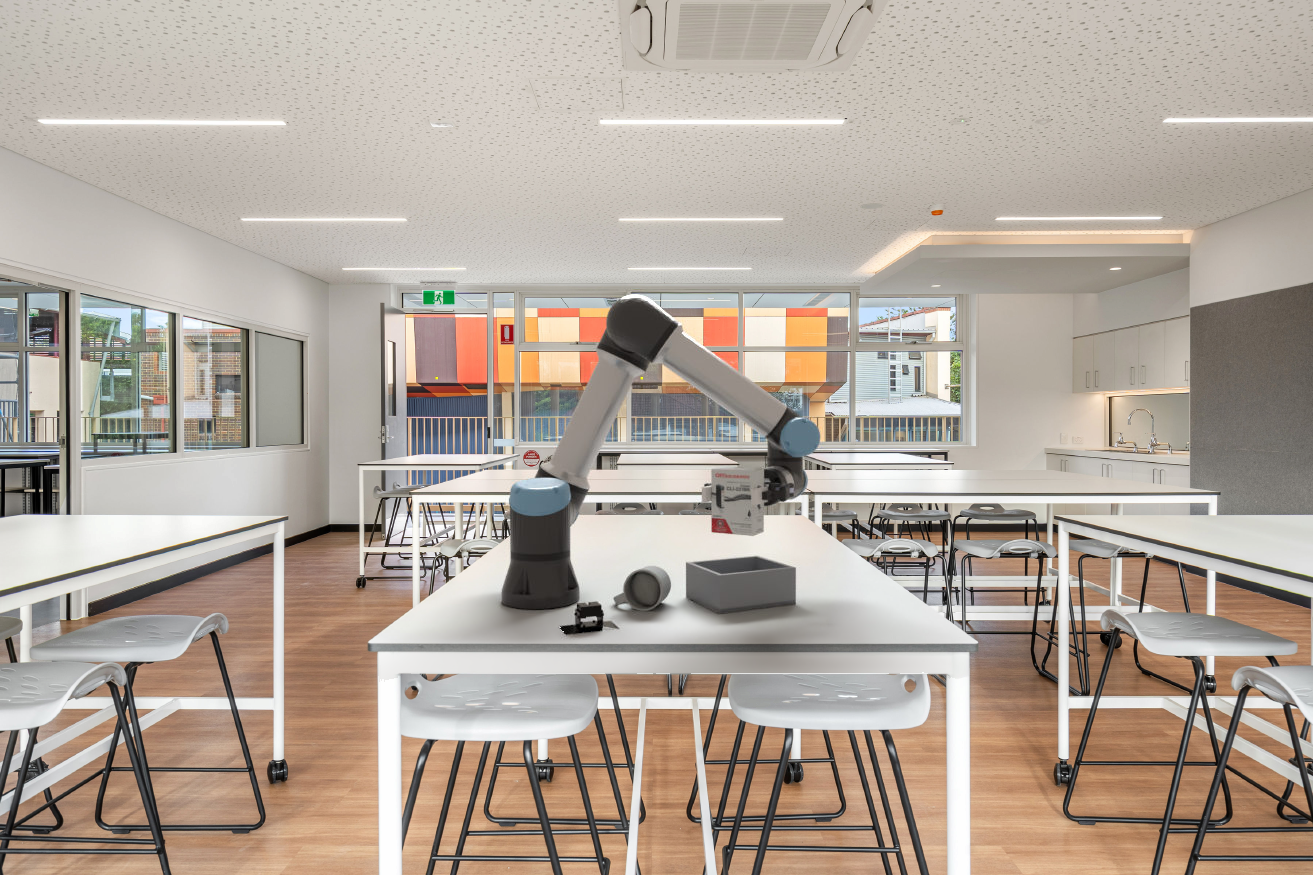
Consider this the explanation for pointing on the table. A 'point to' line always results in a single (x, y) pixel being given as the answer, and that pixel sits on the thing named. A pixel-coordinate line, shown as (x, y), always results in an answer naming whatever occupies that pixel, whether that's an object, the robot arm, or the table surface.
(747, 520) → the ink box
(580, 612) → the black angular piece
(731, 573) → the bin
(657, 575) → the ceramic mug
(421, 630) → the table surface
